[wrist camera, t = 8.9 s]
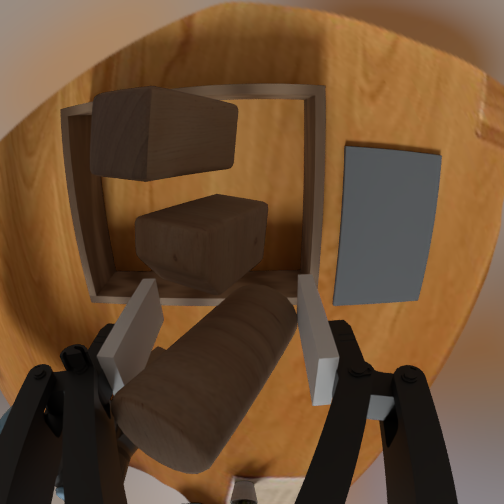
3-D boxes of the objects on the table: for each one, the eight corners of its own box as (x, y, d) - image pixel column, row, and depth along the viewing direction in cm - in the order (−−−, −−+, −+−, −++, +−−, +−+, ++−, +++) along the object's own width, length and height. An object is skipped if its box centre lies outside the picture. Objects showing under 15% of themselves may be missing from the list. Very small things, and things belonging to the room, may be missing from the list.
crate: (111, 277, 43) (91, 302, 37) (89, 108, 34) (60, 109, 27) (307, 276, 43) (316, 304, 36) (312, 91, 33) (325, 85, 27)
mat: (332, 303, 45) (333, 305, 44) (344, 146, 36) (345, 146, 35) (416, 298, 44) (417, 300, 44) (439, 155, 36) (441, 155, 35)
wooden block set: (176, 107, 16) (11, 99, 8) (329, 115, 14) (227, 50, 5) (174, 364, 23) (81, 449, 14) (281, 405, 20) (209, 526, 11)
